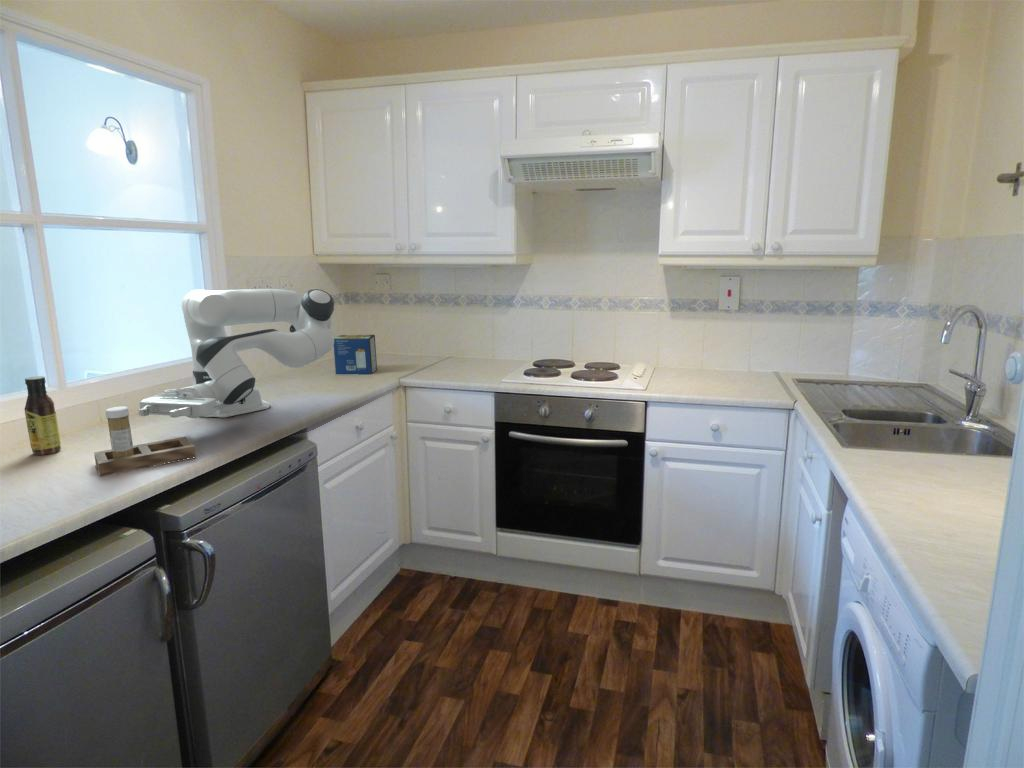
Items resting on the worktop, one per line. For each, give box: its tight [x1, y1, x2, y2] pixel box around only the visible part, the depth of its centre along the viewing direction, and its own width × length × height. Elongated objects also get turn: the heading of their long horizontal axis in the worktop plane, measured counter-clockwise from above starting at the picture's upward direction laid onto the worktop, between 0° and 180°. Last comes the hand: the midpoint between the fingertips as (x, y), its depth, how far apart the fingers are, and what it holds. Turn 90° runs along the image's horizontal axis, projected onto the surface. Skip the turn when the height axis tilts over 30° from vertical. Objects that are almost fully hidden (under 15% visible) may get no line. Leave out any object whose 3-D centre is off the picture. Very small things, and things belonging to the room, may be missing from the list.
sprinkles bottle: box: [105, 405, 134, 459], centre depth 148 cm, size 5×5×14 cm
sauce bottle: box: [24, 375, 62, 456], centre depth 159 cm, size 6×6×20 cm
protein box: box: [333, 334, 378, 375], centre depth 263 cm, size 10×15×16 cm
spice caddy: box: [93, 436, 196, 477], centre depth 152 cm, size 20×11×3 cm, turn 128°
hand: (156, 413), depth 159 cm, fingers open, 8 cm apart
